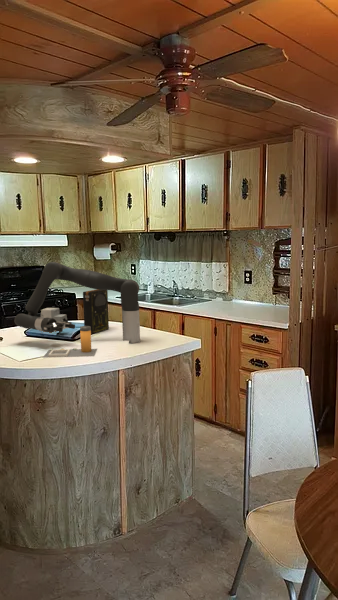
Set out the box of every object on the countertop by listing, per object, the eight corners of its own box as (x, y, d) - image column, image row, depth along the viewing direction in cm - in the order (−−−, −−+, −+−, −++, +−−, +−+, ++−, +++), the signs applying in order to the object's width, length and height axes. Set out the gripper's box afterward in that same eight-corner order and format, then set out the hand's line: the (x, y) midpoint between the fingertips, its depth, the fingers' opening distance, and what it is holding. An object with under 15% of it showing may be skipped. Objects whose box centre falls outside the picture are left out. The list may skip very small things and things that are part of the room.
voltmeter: (93, 334, 268) (91, 291, 265) (82, 332, 273) (80, 291, 269) (110, 329, 282) (109, 288, 278) (99, 328, 286) (98, 288, 282)
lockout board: (97, 351, 230) (97, 346, 230) (94, 359, 216) (94, 353, 216) (49, 352, 229) (48, 347, 229) (42, 360, 215) (42, 355, 215)
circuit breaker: (64, 336, 265) (63, 310, 263) (41, 335, 268) (40, 309, 266) (70, 333, 273) (68, 308, 270) (47, 332, 276) (46, 307, 273)
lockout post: (92, 349, 228) (91, 325, 226) (90, 352, 223) (89, 327, 222) (81, 349, 228) (80, 326, 226) (80, 352, 223) (79, 328, 221)
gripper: (34, 319, 232) (57, 323, 224) (55, 315, 244) (78, 318, 236) (35, 334, 234) (58, 338, 225) (56, 329, 245) (78, 332, 237)
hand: (68, 328), depth 230 cm, fingers open, 8 cm apart
